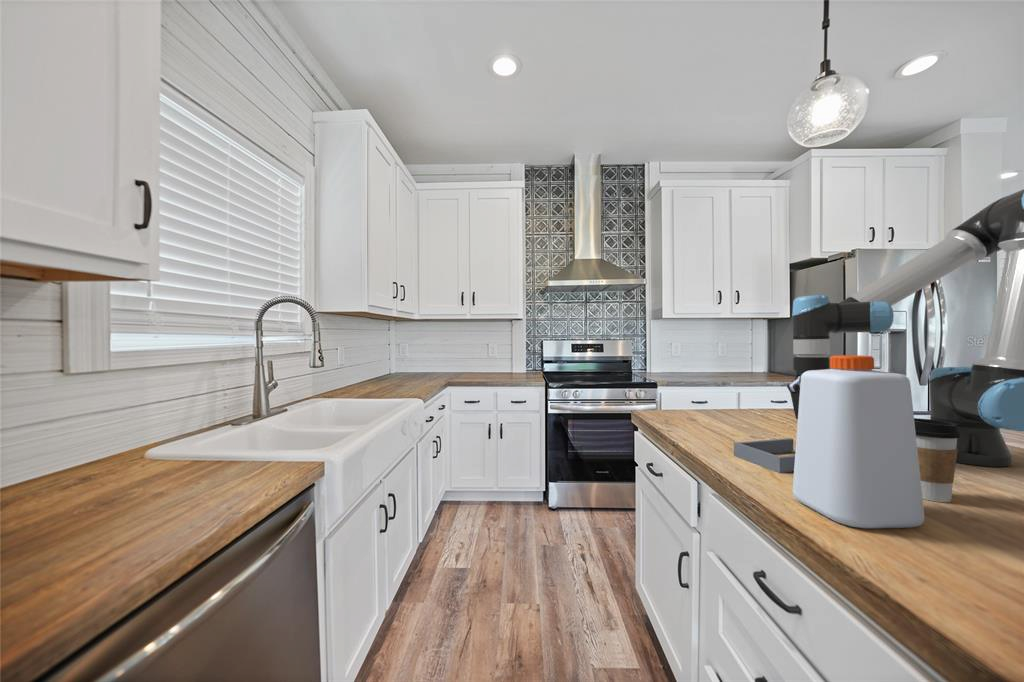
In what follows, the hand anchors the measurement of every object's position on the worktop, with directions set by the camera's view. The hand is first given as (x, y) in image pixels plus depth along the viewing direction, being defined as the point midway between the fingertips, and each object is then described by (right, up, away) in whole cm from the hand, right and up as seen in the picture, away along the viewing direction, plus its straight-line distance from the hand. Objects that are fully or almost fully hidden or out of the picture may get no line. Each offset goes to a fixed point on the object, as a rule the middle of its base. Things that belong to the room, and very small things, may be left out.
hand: (811, 447), depth 102 cm
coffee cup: (+4, -3, -25) cm, 25 cm away
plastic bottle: (-16, -3, -30) cm, 34 cm away
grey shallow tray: (-8, -3, -2) cm, 9 cm away
